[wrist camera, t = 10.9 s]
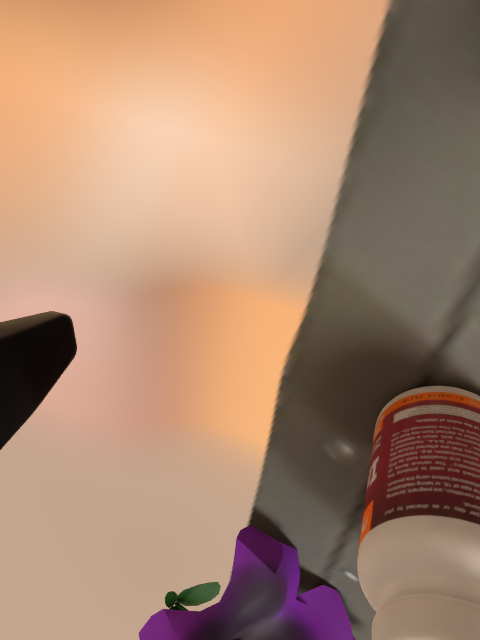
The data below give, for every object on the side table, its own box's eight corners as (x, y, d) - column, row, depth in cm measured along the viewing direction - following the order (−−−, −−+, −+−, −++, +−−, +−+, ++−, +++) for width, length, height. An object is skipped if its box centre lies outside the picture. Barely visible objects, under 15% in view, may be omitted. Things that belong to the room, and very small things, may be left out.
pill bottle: (356, 394, 22) (310, 613, 13) (490, 366, 19) (552, 628, 10) (400, 484, 24) (387, 733, 15) (530, 472, 21) (614, 778, 12)
